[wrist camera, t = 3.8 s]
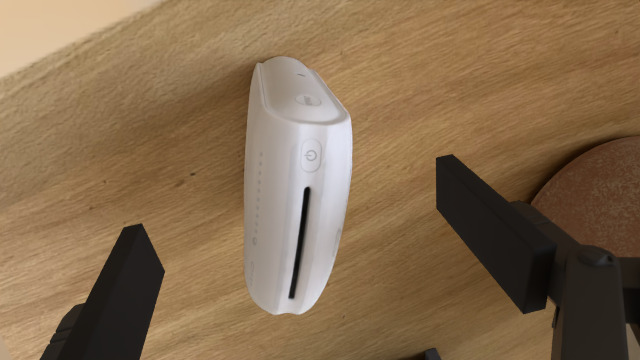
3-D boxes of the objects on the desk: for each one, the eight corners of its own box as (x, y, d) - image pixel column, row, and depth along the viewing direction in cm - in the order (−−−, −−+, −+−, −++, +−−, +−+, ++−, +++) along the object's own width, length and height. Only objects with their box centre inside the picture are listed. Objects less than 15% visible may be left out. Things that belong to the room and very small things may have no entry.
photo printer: (249, 49, 22) (252, 115, 12) (320, 57, 23) (382, 126, 13) (241, 198, 27) (238, 343, 16) (300, 200, 28) (334, 339, 17)
